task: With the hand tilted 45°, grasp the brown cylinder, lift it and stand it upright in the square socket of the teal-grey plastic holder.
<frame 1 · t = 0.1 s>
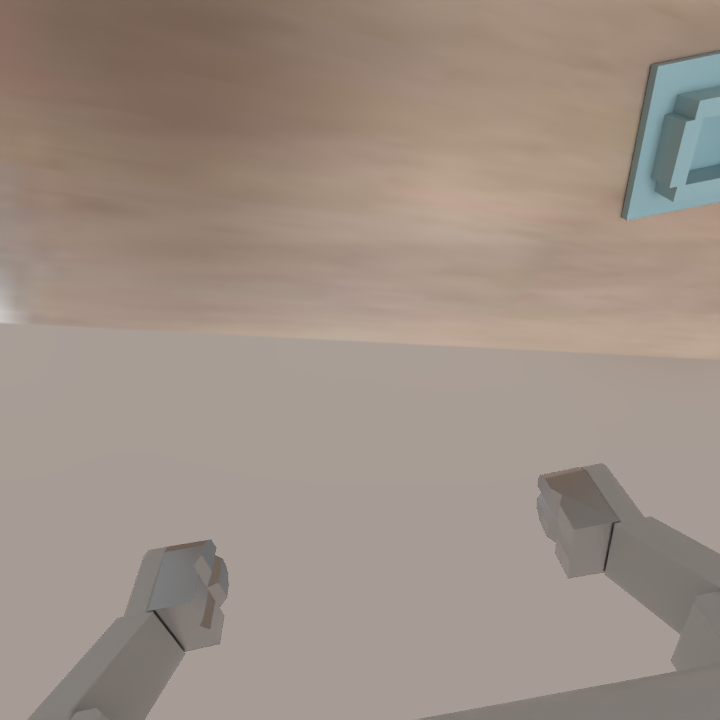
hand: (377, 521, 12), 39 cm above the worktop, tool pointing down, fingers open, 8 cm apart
tube holder: (696, 135, 46), on the worktop
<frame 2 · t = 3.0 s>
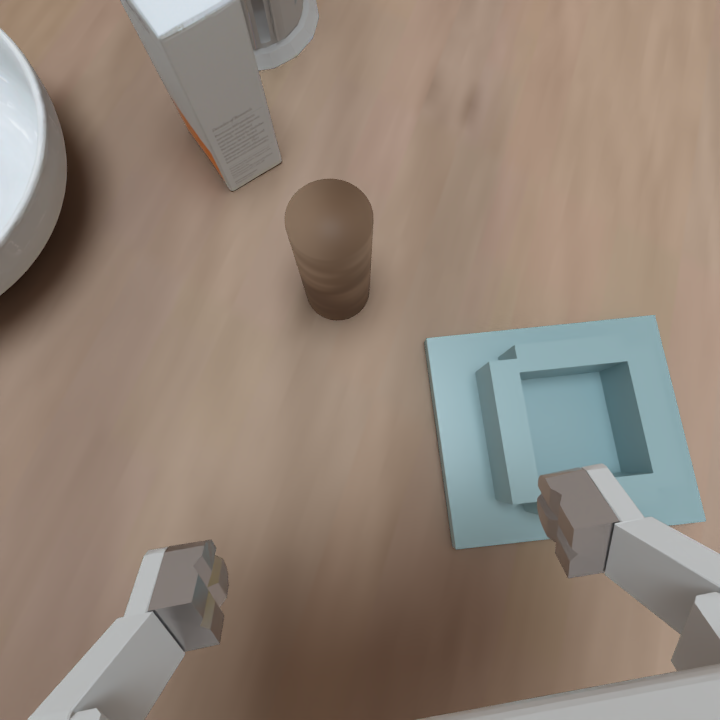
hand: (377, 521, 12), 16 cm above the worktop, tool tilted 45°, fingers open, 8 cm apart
skincare box: (236, 149, 32), on the worktop
french press: (256, 27, 35), on the worktop
brown cylinder: (337, 290, 30), on the worktop
tube holder: (553, 427, 28), on the worktop
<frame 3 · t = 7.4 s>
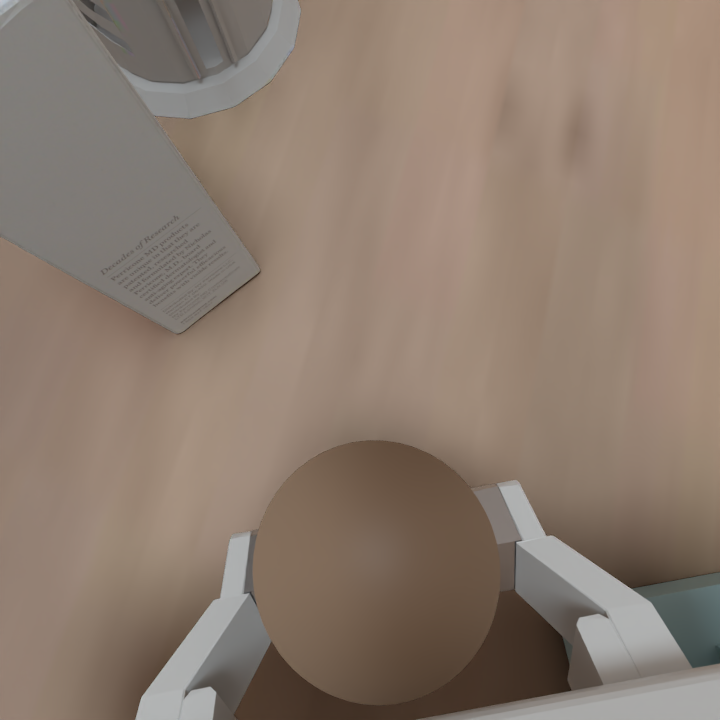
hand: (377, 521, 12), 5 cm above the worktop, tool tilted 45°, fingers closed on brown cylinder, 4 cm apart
skincare box: (181, 254, 19), on the worktop
french press: (200, 41, 21), on the worktop
brown cylinder: (380, 507, 16), on the worktop, touching gripper
when the fingers open (7 cm above the worktop, at t = 15.4 s): brown cylinder drops 1 cm, resting on tube holder.
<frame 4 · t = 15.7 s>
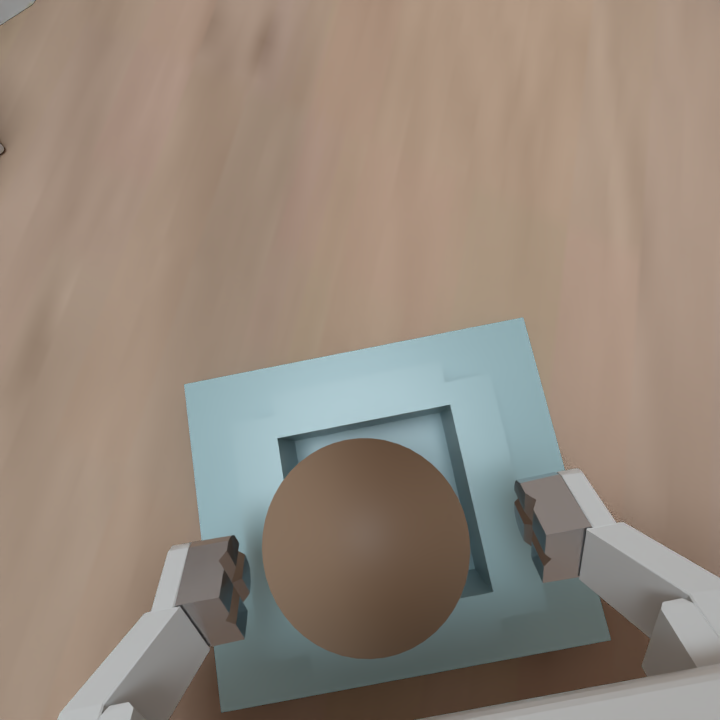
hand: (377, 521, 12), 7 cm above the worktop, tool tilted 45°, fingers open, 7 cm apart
brown cylinder: (380, 501, 18), point 1 cm above the worktop, touching tube holder
tube holder: (381, 500, 19), on the worktop
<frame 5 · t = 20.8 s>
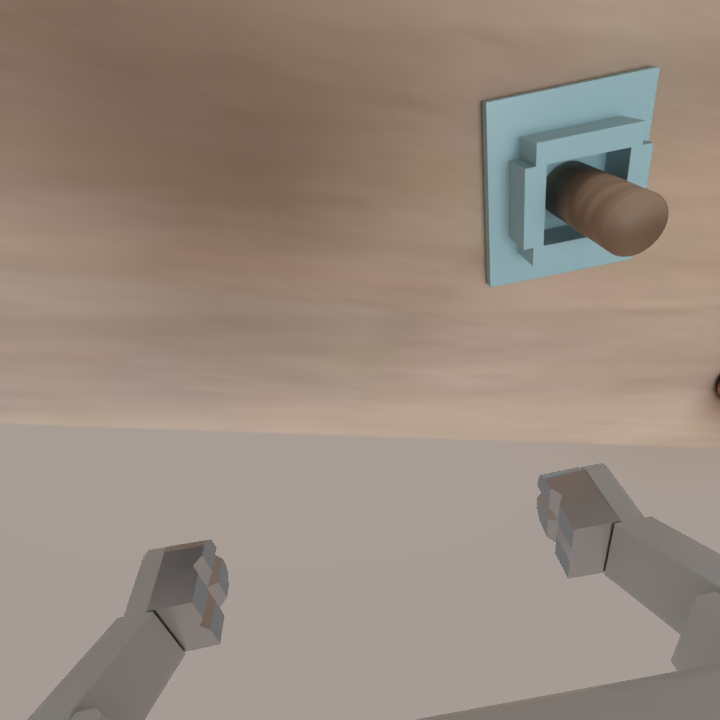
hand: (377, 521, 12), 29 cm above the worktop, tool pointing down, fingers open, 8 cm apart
brown cylinder: (566, 188, 36), point 1 cm above the worktop, touching tube holder
tube holder: (560, 185, 37), on the worktop
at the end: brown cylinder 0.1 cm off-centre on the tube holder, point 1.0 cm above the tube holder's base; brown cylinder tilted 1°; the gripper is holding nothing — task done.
